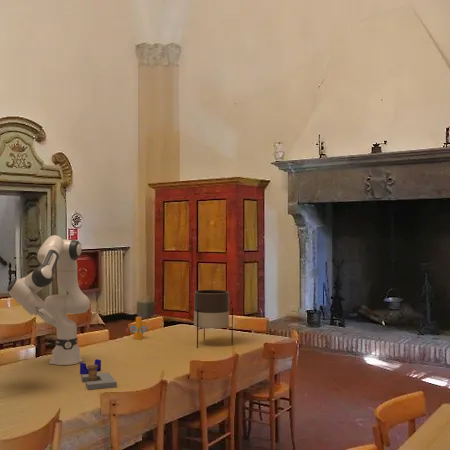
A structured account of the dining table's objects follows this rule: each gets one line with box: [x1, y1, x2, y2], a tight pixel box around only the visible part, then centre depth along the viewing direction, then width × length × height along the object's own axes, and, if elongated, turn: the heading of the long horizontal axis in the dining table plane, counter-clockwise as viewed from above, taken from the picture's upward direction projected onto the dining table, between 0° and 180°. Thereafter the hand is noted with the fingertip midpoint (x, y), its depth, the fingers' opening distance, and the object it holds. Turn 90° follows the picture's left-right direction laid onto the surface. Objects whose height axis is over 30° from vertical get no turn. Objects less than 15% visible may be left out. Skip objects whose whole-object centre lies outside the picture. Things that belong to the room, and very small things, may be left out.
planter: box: [193, 289, 234, 349], centre depth 393 cm, size 26×25×35 cm
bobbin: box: [86, 364, 98, 382], centre depth 296 cm, size 6×6×9 cm
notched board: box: [80, 371, 118, 391], centre depth 297 cm, size 20×14×2 cm
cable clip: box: [79, 358, 102, 376], centre depth 317 cm, size 12×4×6 cm, turn 144°
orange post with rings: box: [129, 316, 148, 340], centre depth 412 cm, size 12×10×15 cm
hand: (55, 325), depth 294 cm, fingers open, 8 cm apart
